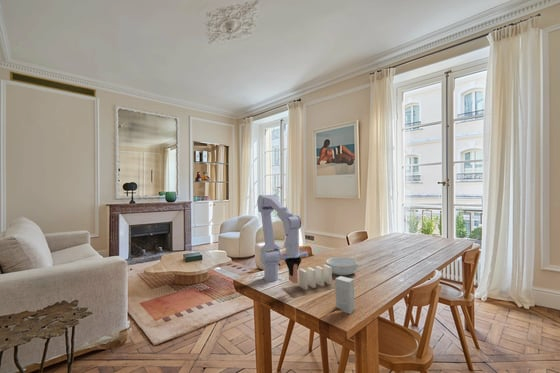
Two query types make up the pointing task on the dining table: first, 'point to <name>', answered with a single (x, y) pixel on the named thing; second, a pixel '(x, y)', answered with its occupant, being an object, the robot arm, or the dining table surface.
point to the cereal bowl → (342, 265)
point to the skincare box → (345, 294)
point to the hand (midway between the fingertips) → (293, 274)
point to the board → (298, 291)
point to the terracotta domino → (294, 274)
